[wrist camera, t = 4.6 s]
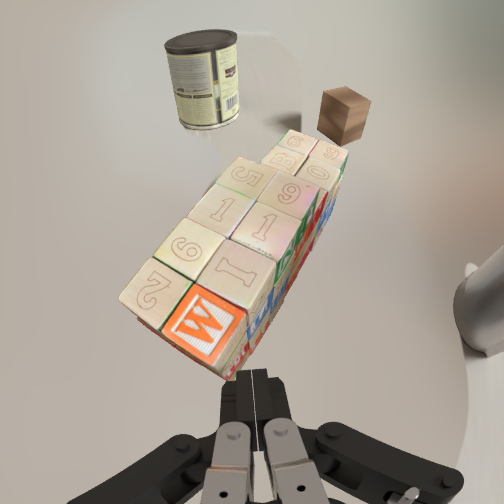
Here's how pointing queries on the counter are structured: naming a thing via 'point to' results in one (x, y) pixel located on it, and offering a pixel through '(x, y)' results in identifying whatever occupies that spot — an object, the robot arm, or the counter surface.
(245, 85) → the counter surface
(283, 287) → the stack of blocks
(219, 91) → the coffee can
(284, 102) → the counter surface
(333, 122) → the walnut block
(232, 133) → the counter surface
